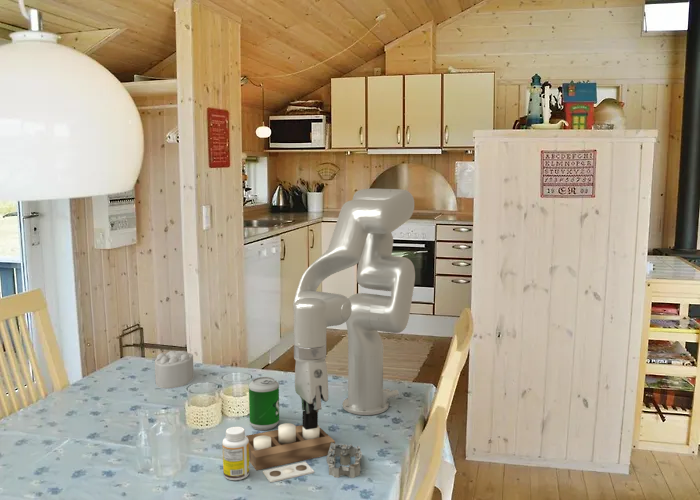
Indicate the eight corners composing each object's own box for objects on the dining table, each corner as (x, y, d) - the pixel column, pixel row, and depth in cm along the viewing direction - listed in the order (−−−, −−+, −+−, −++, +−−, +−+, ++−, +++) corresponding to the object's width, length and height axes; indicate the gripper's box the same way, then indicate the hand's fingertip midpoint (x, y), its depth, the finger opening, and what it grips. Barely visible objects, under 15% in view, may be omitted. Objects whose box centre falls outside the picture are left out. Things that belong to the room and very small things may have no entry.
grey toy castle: (360, 480, 139) (360, 462, 139) (325, 478, 140) (324, 460, 139) (363, 457, 150) (363, 440, 149) (330, 456, 150) (330, 439, 150)
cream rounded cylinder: (268, 448, 152) (267, 434, 152) (273, 455, 149) (273, 440, 148) (251, 451, 150) (251, 437, 150) (256, 459, 147) (256, 444, 146)
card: (305, 463, 146) (305, 461, 146) (314, 472, 142) (314, 470, 142) (262, 472, 142) (262, 470, 142) (270, 482, 137) (270, 480, 137)
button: (315, 436, 157) (315, 422, 157) (322, 442, 154) (322, 428, 153) (300, 439, 156) (299, 425, 155) (306, 446, 152) (306, 431, 152)
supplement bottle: (238, 466, 145) (236, 422, 143) (254, 474, 141) (253, 429, 140) (217, 476, 140) (216, 430, 139) (234, 484, 137) (233, 437, 135)
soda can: (274, 432, 163) (273, 386, 161) (245, 430, 164) (244, 384, 162) (283, 421, 170) (282, 376, 168) (255, 418, 171) (254, 374, 170)
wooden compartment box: (314, 434, 162) (314, 422, 161) (335, 453, 151) (335, 441, 151) (240, 449, 153) (240, 436, 153) (256, 470, 143) (255, 457, 142)
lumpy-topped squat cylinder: (197, 375, 206) (196, 348, 205) (182, 389, 194) (181, 361, 192) (165, 373, 208) (164, 347, 206) (148, 388, 195) (147, 359, 194)
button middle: (292, 436, 155) (292, 422, 154) (298, 442, 151) (298, 428, 150) (276, 439, 153) (275, 425, 152) (282, 446, 149) (281, 431, 149)
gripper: (338, 358, 147) (337, 436, 149) (312, 342, 160) (312, 414, 162) (307, 362, 143) (307, 442, 146) (283, 345, 157) (284, 419, 159)
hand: (310, 427), depth 154 cm, fingers closed
